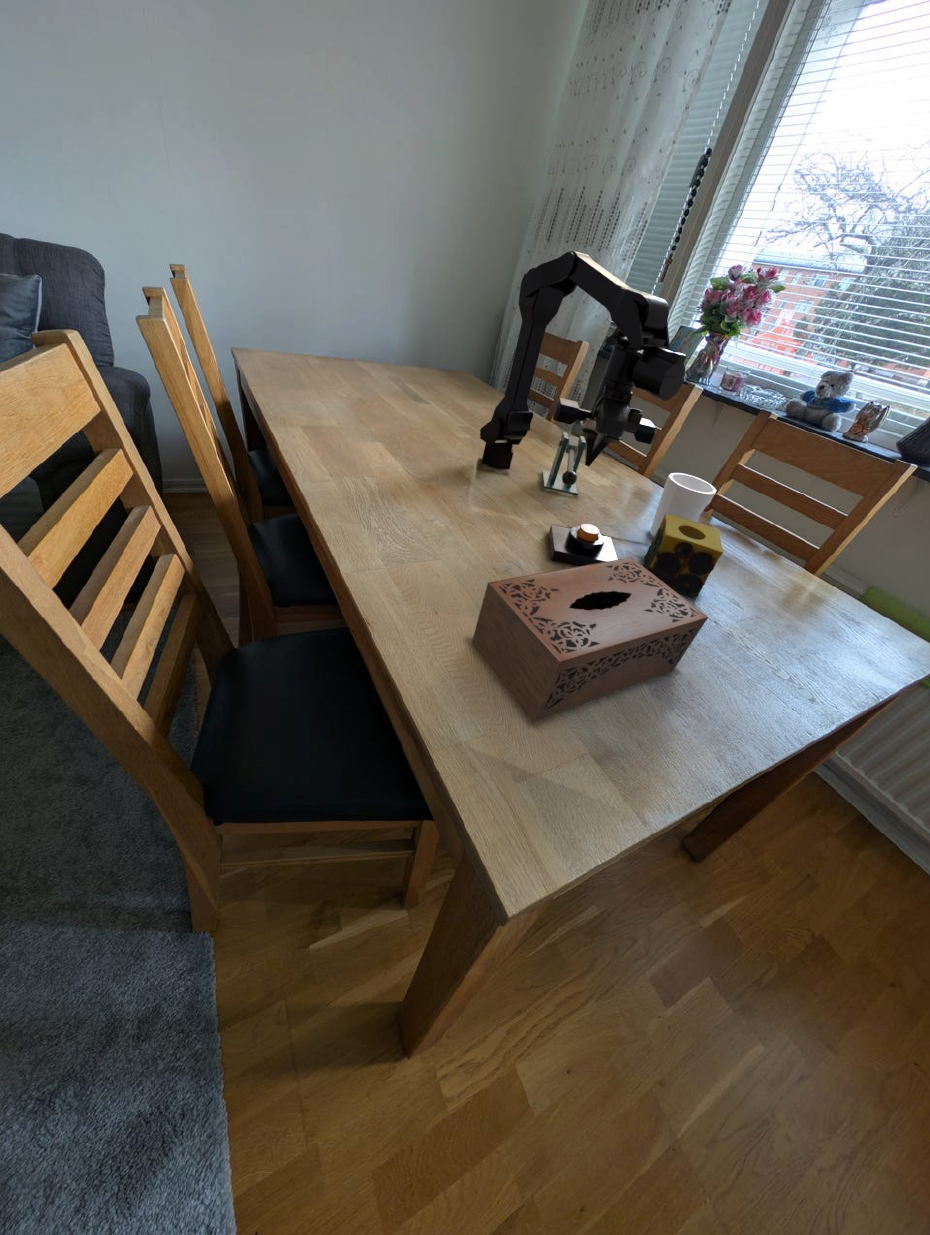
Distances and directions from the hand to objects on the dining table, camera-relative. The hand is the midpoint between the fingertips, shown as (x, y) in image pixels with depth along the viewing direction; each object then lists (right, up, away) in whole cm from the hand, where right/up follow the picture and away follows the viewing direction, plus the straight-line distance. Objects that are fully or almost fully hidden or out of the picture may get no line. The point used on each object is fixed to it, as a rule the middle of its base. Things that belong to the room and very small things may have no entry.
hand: (587, 465), depth 94 cm
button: (-1, -15, -5) cm, 16 cm away
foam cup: (+19, -13, +9) cm, 25 cm away
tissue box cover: (-8, -35, -27) cm, 45 cm away
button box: (-2, -18, -3) cm, 18 cm away
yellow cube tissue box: (+14, -22, -3) cm, 27 cm away
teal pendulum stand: (-1, +2, +21) cm, 22 cm away
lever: (-1, +4, +14) cm, 15 cm away
